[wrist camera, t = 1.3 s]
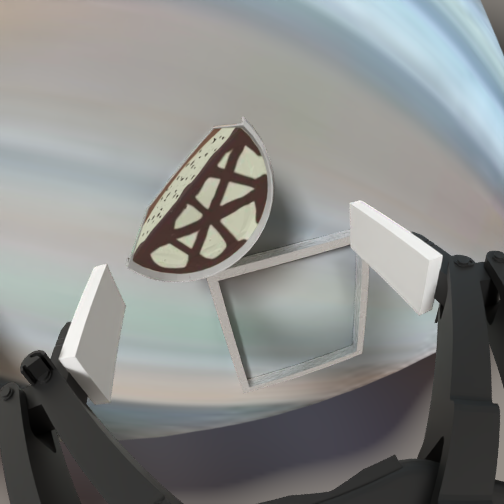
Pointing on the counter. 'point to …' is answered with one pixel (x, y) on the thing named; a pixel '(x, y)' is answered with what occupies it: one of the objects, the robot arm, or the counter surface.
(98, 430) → the robot arm
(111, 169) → the counter surface
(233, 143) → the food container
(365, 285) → the grey square frame
